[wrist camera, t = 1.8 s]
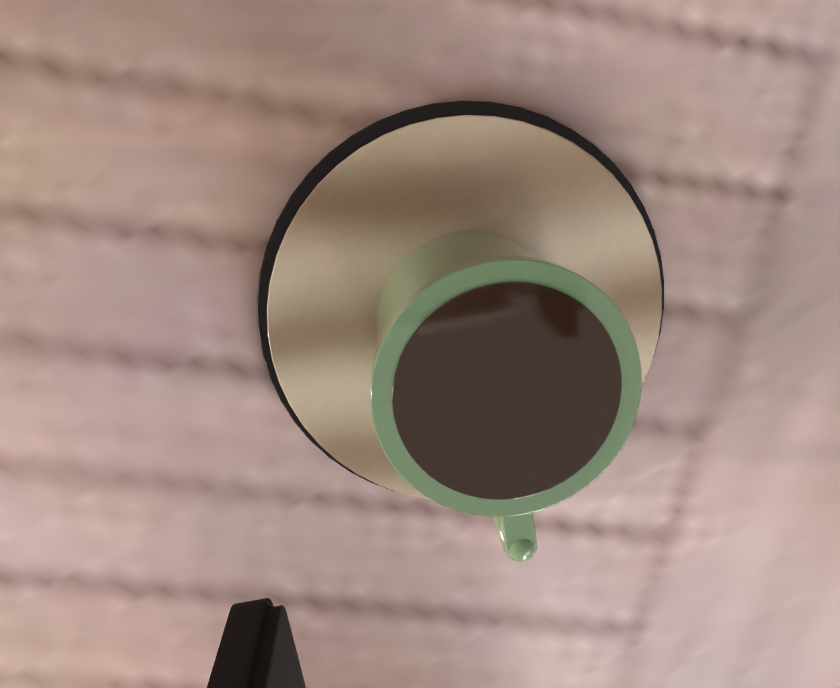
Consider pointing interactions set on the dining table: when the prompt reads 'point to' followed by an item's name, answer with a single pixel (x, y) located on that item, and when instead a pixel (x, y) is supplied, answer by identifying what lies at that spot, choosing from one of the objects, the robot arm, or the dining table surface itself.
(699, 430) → the dining table surface
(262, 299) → the base
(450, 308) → the coffee cup on saucer
